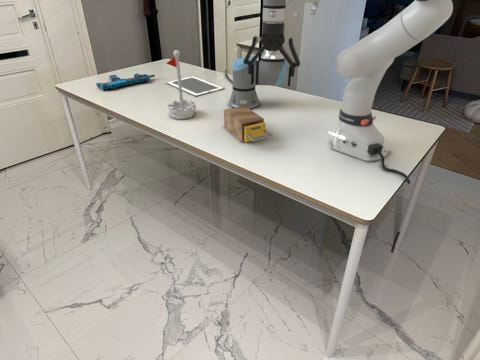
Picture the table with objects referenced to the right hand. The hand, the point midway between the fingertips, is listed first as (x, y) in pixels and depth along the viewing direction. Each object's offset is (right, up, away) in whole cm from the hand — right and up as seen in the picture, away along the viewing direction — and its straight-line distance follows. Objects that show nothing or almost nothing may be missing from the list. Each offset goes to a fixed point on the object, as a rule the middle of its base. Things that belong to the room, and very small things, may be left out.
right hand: (304, 15), depth 134 cm
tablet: (-53, -9, +69) cm, 87 cm away
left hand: (-14, -30, -8) cm, 34 cm away
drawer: (-21, -46, +10) cm, 52 cm away
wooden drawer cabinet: (-24, -44, +15) cm, 52 cm away
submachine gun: (-97, -5, +76) cm, 123 cm away
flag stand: (-54, -33, +32) cm, 70 cm away
